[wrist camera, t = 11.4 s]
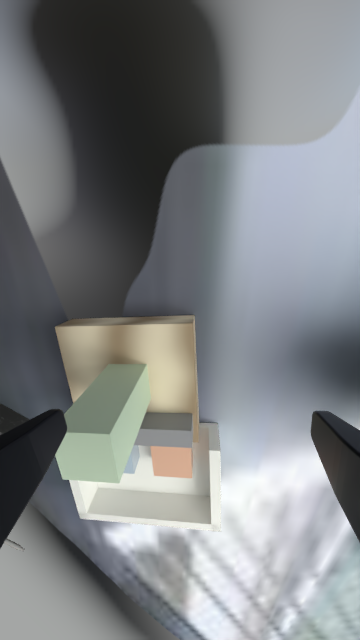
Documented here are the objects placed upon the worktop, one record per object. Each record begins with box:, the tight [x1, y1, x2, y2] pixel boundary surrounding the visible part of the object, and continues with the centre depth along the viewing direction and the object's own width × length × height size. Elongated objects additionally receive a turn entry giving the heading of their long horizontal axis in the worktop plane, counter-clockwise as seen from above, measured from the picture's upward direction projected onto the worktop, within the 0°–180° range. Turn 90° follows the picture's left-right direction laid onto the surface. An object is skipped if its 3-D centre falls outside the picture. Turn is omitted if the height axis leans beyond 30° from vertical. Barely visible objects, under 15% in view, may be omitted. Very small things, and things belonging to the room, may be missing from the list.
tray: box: [69, 423, 221, 532], centre depth 23 cm, size 16×11×3 cm
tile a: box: [150, 446, 193, 478], centre depth 22 cm, size 4×4×2 cm
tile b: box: [123, 445, 140, 474], centre depth 22 cm, size 4×4×2 cm
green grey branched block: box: [55, 364, 193, 483], centre depth 15 cm, size 11×7×8 cm, turn 93°
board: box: [55, 315, 199, 443], centre depth 20 cm, size 12×12×2 cm
